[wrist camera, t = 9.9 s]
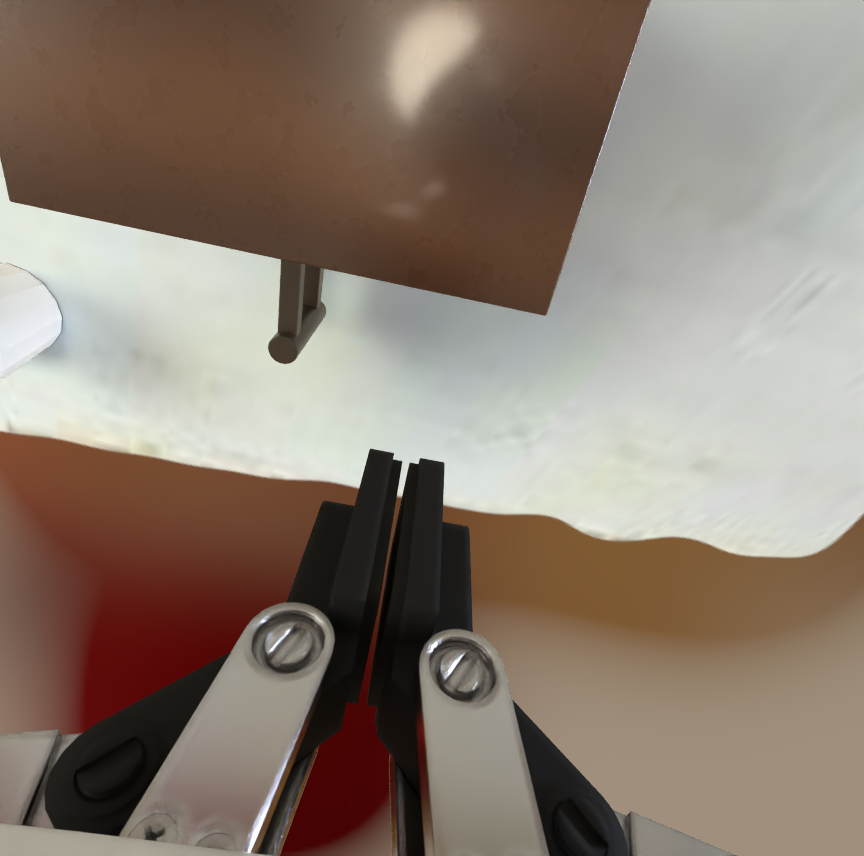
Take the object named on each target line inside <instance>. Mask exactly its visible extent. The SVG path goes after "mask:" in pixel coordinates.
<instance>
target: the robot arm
mask: <svg viewBox="0 0 864 856" xmlns="http://www.w3.org/2000/svg"><path fill="white" fill-rule="evenodd" d="M393 456H394V453H390V452H385V451H380V450H374V449H370V451H369V454H368V458H367V462H366V466H365V469H364V473H363V477H362V481H361V484H360V488H359V492H358V495H357V499H356V503H355V506H351V505H346V504H340V503H334V502H329V501H323V503H322V505H321V507H320V510H319V513H318V516H317V518H316V521H315V524H314V527H313V530H312V532H311V535H310V538H309V541H308V544H307V546H306V549H305V552H304V555H303V557H302V560H301V563H300V566H299V569H298V572H297V574H296V577H295V580H294V583H293V586H292V589H291V591H290V594H289V597H288V600H287V602H286V603H280V604H278V605H275V606H272V607H269V608H267V609H265V610H264V611H263V612H261V613H259V614H258V615H257V616H255V617H254V619H253V620H252V621H251V622H250V623H249V625H248V626H247V627H246V629H245V630H244V632H243V634H242V635H241V637H240V639H239V640H238V642H237V643H236V645H235V647H234V649H233V650H232V651H231V652H229V653H227V654H225V655H224V656H222V657H220V658H218V659H216V660H215V661H212V662H211V663H209V664H207V665H205V666H203V667H201V668H199V669H198V670H196V671H194V672H192V673H190V674H188V675H186V676H185V677H183V678H181V679H179V680H177V681H175V682H173V683H172V684H170V685H168V686H166V687H164V688H162V689H160V690H158V691H157V692H155V693H153V694H151V695H149V696H147V697H146V698H144V699H142V700H140V701H138V702H136V703H134V704H132V705H130V706H129V707H127V708H125V709H123V710H121V711H119V712H117V713H116V714H114V715H112V716H110V717H108V718H106V719H104V720H103V721H101V722H99V723H97V724H95V725H94V726H92V727H91V728H90V729H88V730H87V731H85V732H84V733H81V734H72V735H61V733H60V730H47V731H36V732H26V733H15V734H5V735H0V856H279V855H280V852H281V849H282V847H283V844H284V841H285V838H286V836H287V833H288V830H289V828H290V825H291V822H292V819H293V816H294V814H295V811H296V808H297V806H298V803H299V800H300V798H301V795H302V792H303V789H304V787H305V784H306V781H307V779H308V776H309V773H310V770H311V767H312V765H313V762H314V760H315V757H316V754H317V750H318V746H319V745H321V744H322V743H323V742H325V741H326V740H327V739H329V738H330V737H331V736H333V735H334V734H335V733H337V732H338V731H339V730H340V729H341V727H342V721H343V716H344V711H345V706H346V702H350V703H356V704H357V703H358V699H359V695H360V690H361V686H362V681H363V676H364V672H365V667H366V662H367V658H368V653H369V648H370V644H371V639H372V634H373V630H374V625H375V621H376V616H377V611H378V606H379V600H380V595H381V590H382V584H383V577H384V571H385V565H386V559H387V553H388V547H389V540H390V533H391V527H392V521H393V516H394V509H395V503H396V497H397V491H398V485H399V479H400V472H401V466H402V461H398V460H393ZM443 489H444V462H438V461H433V460H428V459H422V458H420V461H419V464H414V463H410V464H409V468H408V473H407V477H406V482H405V487H404V491H403V496H402V500H401V505H400V510H399V514H398V519H397V524H396V528H395V533H394V537H393V542H392V547H391V552H390V557H389V564H388V569H387V576H386V583H385V589H384V595H383V601H382V608H381V615H380V621H379V628H378V633H377V640H376V647H375V653H374V659H373V666H372V672H371V678H370V685H369V691H368V698H367V705H369V706H376V707H377V710H376V717H375V725H378V726H377V736H378V737H379V739H380V740H381V742H382V743H383V744H384V746H385V747H386V749H387V750H388V752H389V753H390V761H389V772H390V773H389V774H390V806H391V808H390V809H391V845H392V856H736V855H734V854H732V853H729V852H727V851H725V850H722V849H720V848H717V847H715V846H713V845H710V844H708V843H705V842H703V841H701V840H698V839H696V838H694V837H691V836H689V835H686V834H684V833H682V832H679V831H677V830H674V829H672V828H670V827H667V826H665V825H663V824H660V823H658V822H655V821H653V820H651V819H648V818H646V817H643V816H641V815H639V814H636V813H634V812H630V813H629V814H628V815H627V816H626V815H623V814H621V813H618V812H616V811H614V810H612V808H611V807H610V806H609V804H608V803H607V802H606V800H605V799H604V798H603V796H602V795H601V794H600V793H599V792H598V791H597V790H596V789H595V788H594V787H593V786H592V785H591V784H590V782H589V781H588V780H587V779H586V778H585V777H584V776H583V775H582V774H581V773H580V772H579V771H578V770H577V769H576V768H575V766H573V764H572V763H571V762H570V761H569V760H568V759H567V758H566V757H565V756H564V755H563V753H561V752H560V750H559V749H558V748H557V747H556V746H555V745H554V744H553V743H552V742H551V741H550V740H549V738H548V737H546V735H545V734H544V733H543V732H542V731H541V730H540V729H539V728H538V727H537V726H536V725H535V723H534V722H533V721H532V720H531V719H530V718H529V717H528V716H527V715H526V714H525V713H524V712H523V711H522V709H520V707H519V706H518V705H517V704H516V703H515V702H514V701H513V700H512V697H511V693H510V689H509V685H508V681H507V676H506V672H505V668H504V666H503V663H502V660H501V658H500V656H499V654H498V653H497V652H496V650H495V649H494V648H493V647H492V645H491V644H489V643H488V642H487V641H486V640H485V639H484V638H482V637H481V636H479V635H477V634H475V633H473V629H472V599H471V569H470V538H469V537H470V536H469V528H468V526H463V525H457V524H452V523H446V522H442V517H443Z"/></svg>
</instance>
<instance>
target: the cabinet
mask: <svg viewBox="0 0 864 856" xmlns="http://www.w3.org/2000/svg"><path fill="white" fill-rule="evenodd" d="M650 3H651V0H0V158H1V163H2V167H3V172H4V177H5V181H6V186H7V191H8V195H9V200H10V201H11V202H15V203H20V204H24V205H29V206H34V207H38V208H43V209H48V210H52V211H57V212H62V213H67V214H71V215H76V216H81V217H85V218H90V219H95V220H99V221H104V222H109V223H113V224H118V225H123V226H127V227H132V228H137V229H141V230H146V231H151V232H155V233H160V234H165V235H170V236H174V237H179V238H184V239H188V240H193V241H198V242H202V243H207V244H212V245H216V246H221V247H226V248H230V249H235V250H240V251H244V252H249V253H254V254H258V255H263V256H268V257H273V258H277V259H282V260H287V261H291V262H296V263H301V264H305V265H310V266H315V267H319V268H324V269H329V270H333V271H338V272H343V273H347V274H352V275H357V276H361V277H366V278H371V279H376V280H380V281H385V282H390V283H394V284H399V285H404V286H408V287H413V288H418V289H422V290H427V291H432V292H436V293H441V294H446V295H450V296H455V297H460V298H464V299H469V300H474V301H479V302H483V303H488V304H493V305H497V306H502V307H507V308H511V309H516V310H521V311H525V312H530V313H535V314H539V315H544V316H545V315H546V314H547V312H548V309H549V306H550V303H551V300H552V297H553V294H554V291H555V288H556V285H557V282H558V279H559V276H560V273H561V270H562V267H563V264H564V261H565V258H566V255H567V252H568V249H569V246H570V243H571V240H572V237H573V234H574V231H575V228H576V225H577V222H578V219H579V216H580V213H581V210H582V207H583V204H584V201H585V198H586V195H587V192H588V189H589V186H590V183H591V180H592V177H593V174H594V171H595V168H596V165H597V162H598V159H599V156H600V153H601V150H602V147H603V144H604V141H605V138H606V135H607V132H608V129H609V126H610V123H611V120H612V117H613V114H614V111H615V108H616V105H617V102H618V99H619V96H620V93H621V90H622V87H623V84H624V81H625V78H626V75H627V72H628V69H629V66H630V63H631V60H632V57H633V54H634V51H635V48H636V45H637V42H638V39H639V36H640V33H641V30H642V27H643V24H644V21H645V18H646V15H647V12H648V9H649V6H650Z"/></svg>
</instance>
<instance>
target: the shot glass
mask: <svg viewBox="0 0 864 856" xmlns="http://www.w3.org/2000/svg"><path fill="white" fill-rule="evenodd" d="M61 326H62V316H61V313H60V310H59V308H58V305H57V302H56V300H55V299H54V297H53V296H52V295H51V293H50V292H49V291H48V290H47V288H46V287H45V286H44V284H43V283H41V282H40V281H39V280H37V279H36V278H35V277H33V276H32V275H31V274H29V273H28V272H27V271H25V270H22V269H20V268H17V267H15V266H12V265H10V264H7V263H0V381H1V380H2V379H4V378H5V377H6V376H8V375H9V374H11V373H12V372H14V371H15V370H16V369H18V368H19V367H21V366H22V365H23V364H25V363H26V362H28V361H29V360H30V359H32V358H33V357H35V356H36V355H37V354H39V353H40V352H42V351H43V350H44V349H46V348H47V347H49V346H50V345H51V344H53V343H54V342H55V340H56V339H57V337H58V336H59V335H60V333H61Z"/></svg>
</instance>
